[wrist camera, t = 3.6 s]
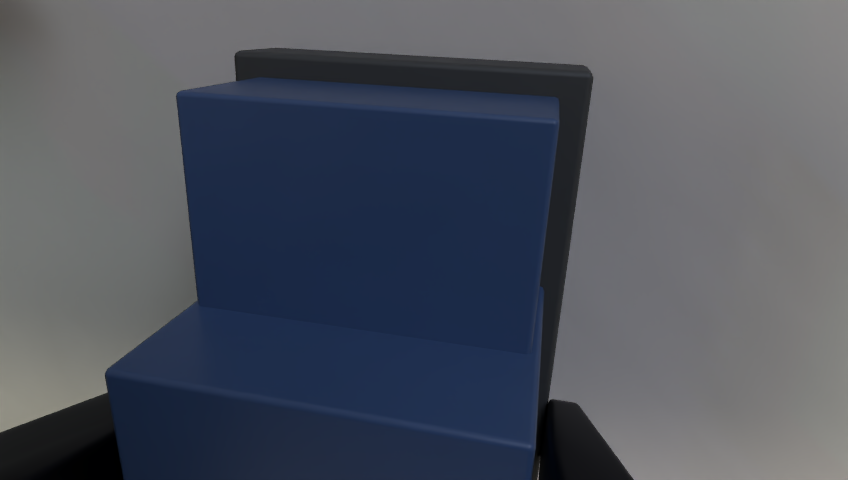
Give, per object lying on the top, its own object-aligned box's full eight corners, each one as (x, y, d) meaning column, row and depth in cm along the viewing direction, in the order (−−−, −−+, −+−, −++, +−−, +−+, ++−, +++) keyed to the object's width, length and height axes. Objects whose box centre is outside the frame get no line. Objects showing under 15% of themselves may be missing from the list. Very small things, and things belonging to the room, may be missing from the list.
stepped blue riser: (515, 605, 11) (491, 928, 7) (297, 555, 12) (166, 821, 8) (589, 65, 8) (623, 108, 4) (273, 47, 9) (17, 65, 4)
